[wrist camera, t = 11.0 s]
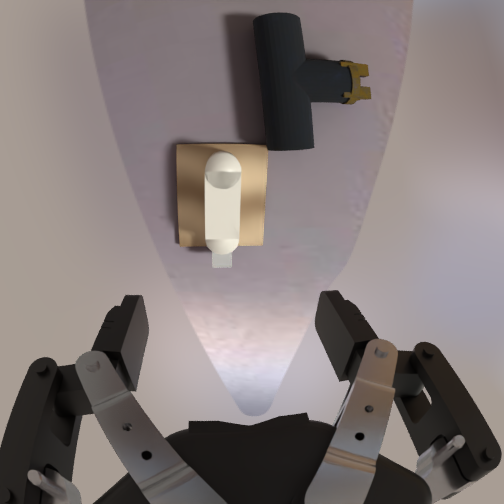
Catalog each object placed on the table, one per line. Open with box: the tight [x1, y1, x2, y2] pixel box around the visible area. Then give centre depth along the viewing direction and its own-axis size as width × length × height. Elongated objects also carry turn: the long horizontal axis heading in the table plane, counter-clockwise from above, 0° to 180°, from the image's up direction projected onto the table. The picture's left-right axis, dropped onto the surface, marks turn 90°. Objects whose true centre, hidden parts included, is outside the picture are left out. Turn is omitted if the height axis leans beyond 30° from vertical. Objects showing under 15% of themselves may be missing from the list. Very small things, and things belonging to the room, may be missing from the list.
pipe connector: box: [253, 13, 371, 151], centre depth 25 cm, size 12×5×15 cm
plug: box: [205, 151, 241, 268], centre depth 30 cm, size 13×4×4 cm, turn 178°
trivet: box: [177, 144, 268, 247], centre depth 31 cm, size 12×10×1 cm
